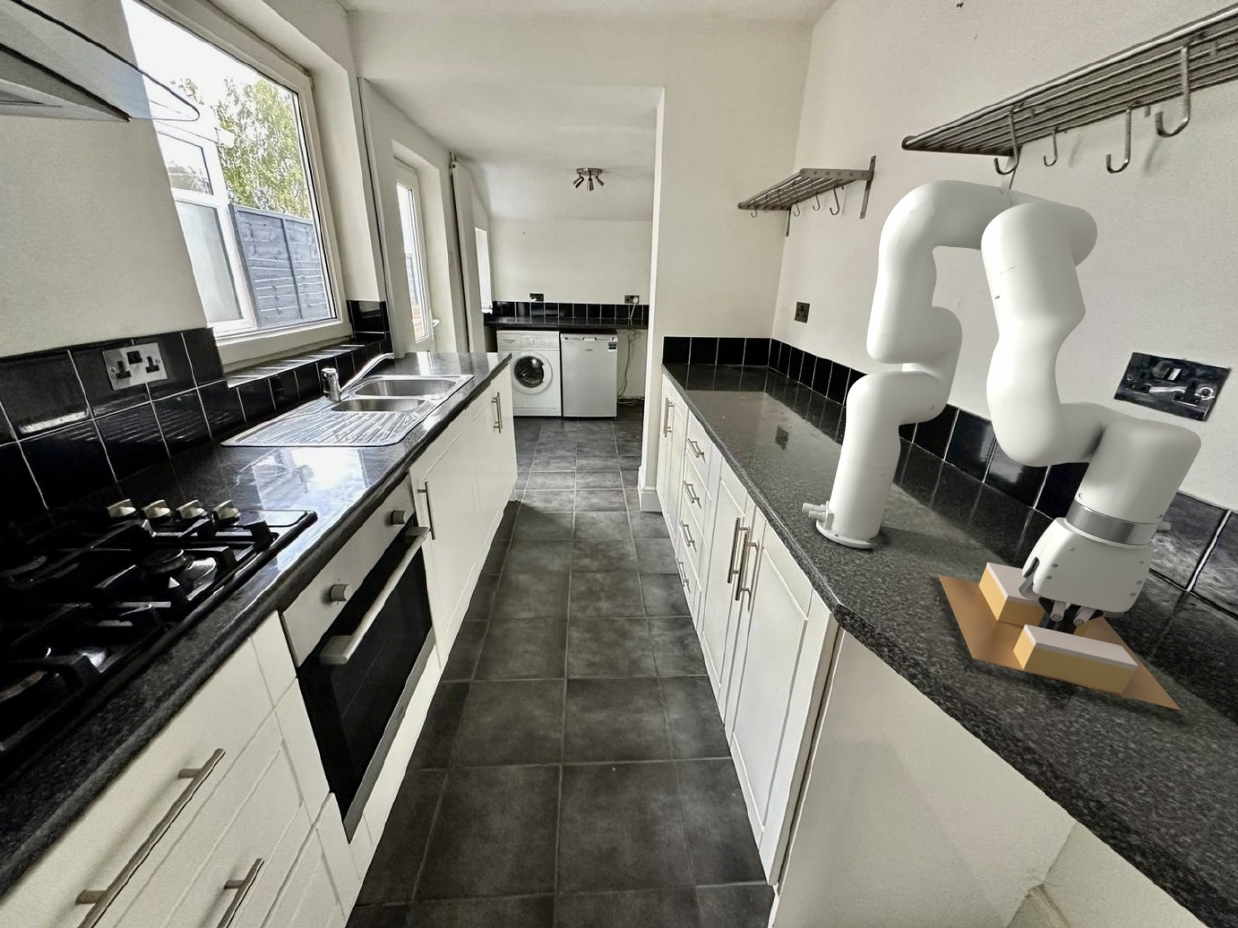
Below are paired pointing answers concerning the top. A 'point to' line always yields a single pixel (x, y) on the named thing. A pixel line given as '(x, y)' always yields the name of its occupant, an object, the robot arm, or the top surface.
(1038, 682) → the top surface
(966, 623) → the cutting board
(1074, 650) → the cake slice
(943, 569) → the top surface
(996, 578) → the cake
